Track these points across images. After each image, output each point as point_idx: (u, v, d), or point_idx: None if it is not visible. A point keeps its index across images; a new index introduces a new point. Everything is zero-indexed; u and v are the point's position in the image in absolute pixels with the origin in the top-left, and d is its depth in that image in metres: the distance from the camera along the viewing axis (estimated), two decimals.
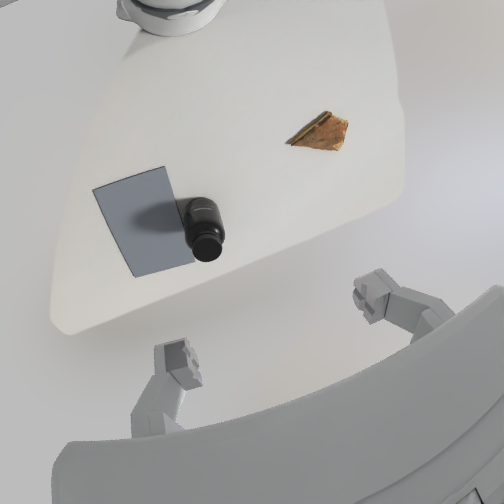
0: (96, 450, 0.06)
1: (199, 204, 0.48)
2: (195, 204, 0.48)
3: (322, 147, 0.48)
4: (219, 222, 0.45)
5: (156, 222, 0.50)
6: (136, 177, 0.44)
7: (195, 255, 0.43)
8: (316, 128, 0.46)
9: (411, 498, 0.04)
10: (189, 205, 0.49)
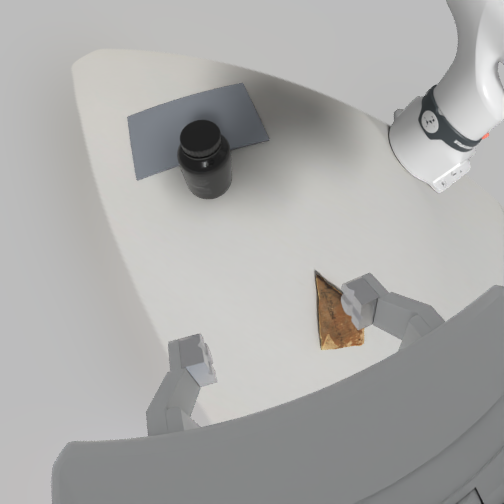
0: (96, 450, 0.06)
1: None
2: None
3: (321, 320, 0.37)
4: (223, 168, 0.33)
5: None
6: (256, 115, 0.43)
7: (192, 123, 0.29)
8: None
9: (411, 498, 0.04)
10: None
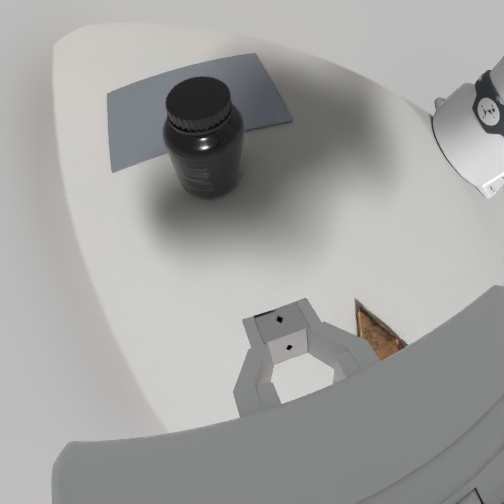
0: (96, 450, 0.06)
1: None
2: None
3: None
4: (232, 151, 0.21)
5: None
6: (274, 90, 0.31)
7: (187, 81, 0.17)
8: (393, 343, 0.25)
9: (411, 498, 0.04)
10: None
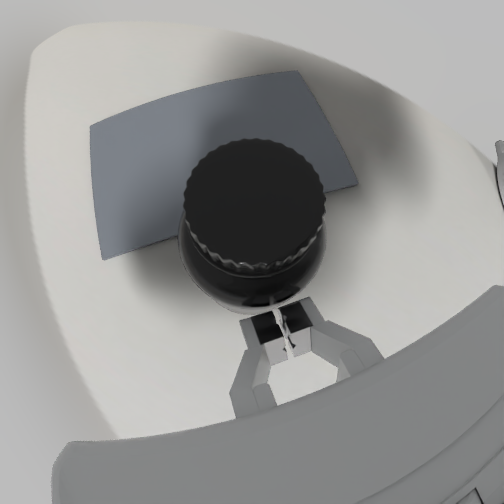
0: (96, 450, 0.06)
1: None
2: None
3: None
4: None
5: None
6: (330, 132, 0.23)
7: (226, 148, 0.09)
8: None
9: (411, 498, 0.04)
10: None
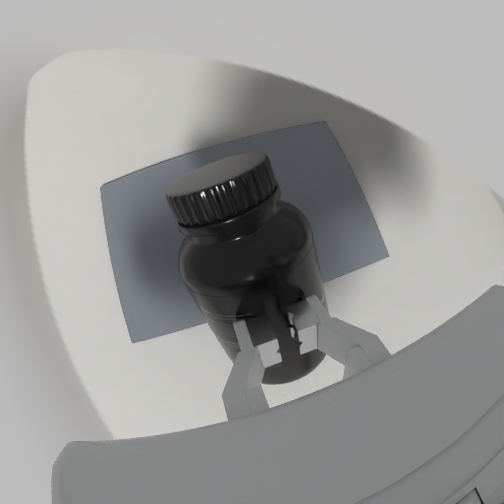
0: (96, 450, 0.06)
1: None
2: None
3: None
4: (297, 270, 0.11)
5: None
6: (362, 199, 0.22)
7: (205, 165, 0.13)
8: None
9: (411, 498, 0.04)
10: None
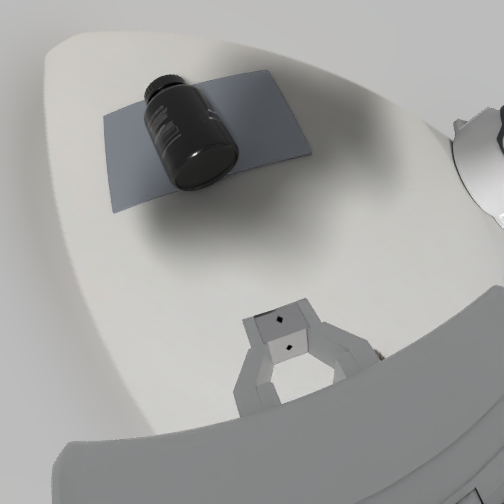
0: (96, 450, 0.06)
1: None
2: None
3: None
4: (183, 89, 0.22)
5: None
6: (290, 115, 0.29)
7: None
8: None
9: (411, 498, 0.04)
10: None
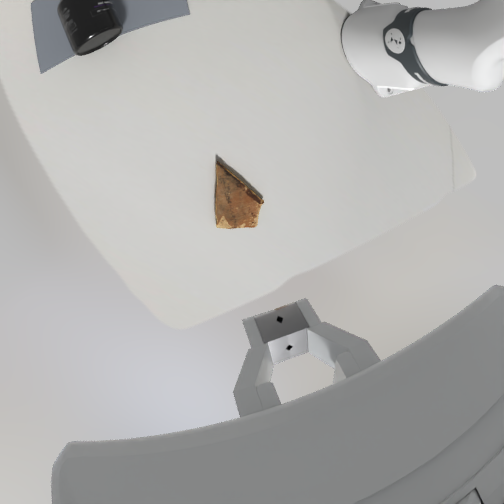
0: (96, 450, 0.06)
1: (113, 10, 0.19)
2: (116, 12, 0.20)
3: (218, 203, 0.41)
4: None
5: None
6: None
7: None
8: (242, 189, 0.41)
9: (411, 498, 0.04)
10: (120, 20, 0.21)
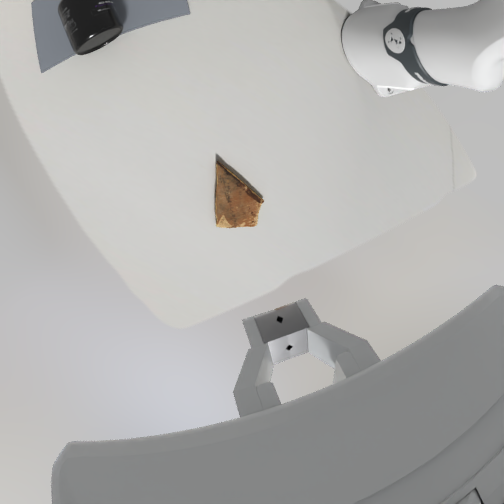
0: (96, 450, 0.06)
1: (114, 9, 0.19)
2: (117, 12, 0.20)
3: (218, 202, 0.41)
4: None
5: None
6: None
7: None
8: (242, 188, 0.41)
9: (411, 498, 0.04)
10: (120, 20, 0.21)
